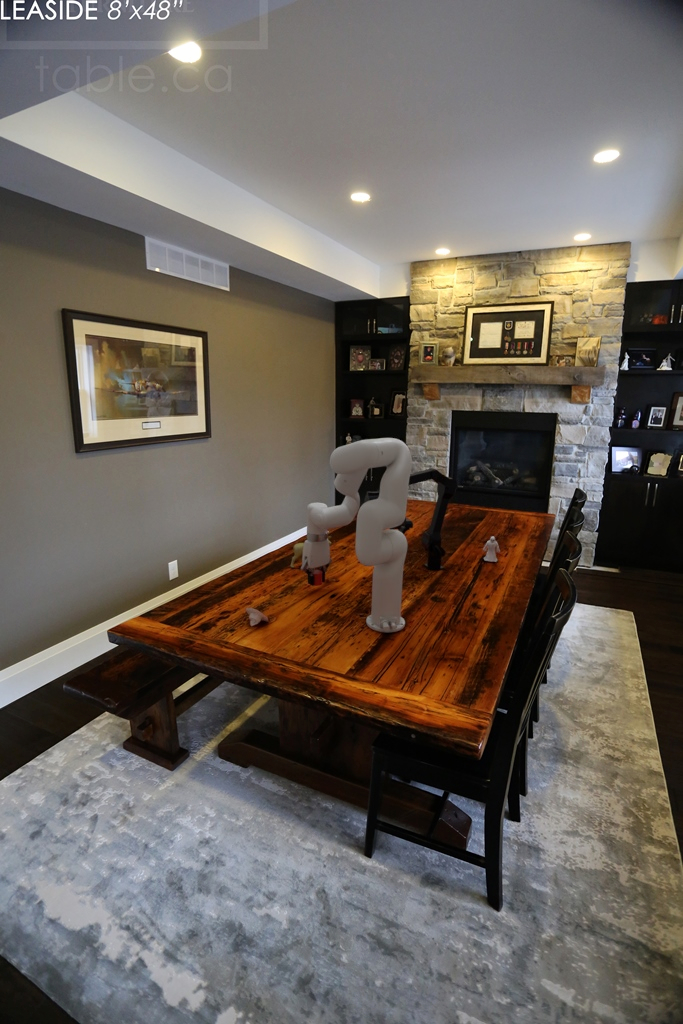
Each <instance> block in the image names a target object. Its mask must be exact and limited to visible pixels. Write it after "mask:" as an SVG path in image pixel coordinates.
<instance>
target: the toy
mask: <svg viewBox="0 0 683 1024" xmlns="http://www.w3.org/2000/svg"><path fill="white" fill-rule="evenodd" d="M331 538H332V535H327V539H328V541H329V547H331V545H332V542H331V541H330V539H331ZM304 543H305V542H299V543H298V542H297V543H296V544H294V545H293V547H292V548H293V553H294V556H292V557H291V563H290V569H295V565H294V564H295V562H296V561H297V560H300V561H301V562H302V557H303V548H304Z"/></svg>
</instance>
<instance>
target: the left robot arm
mask: <svg viewBox="0 0 683 1024" xmlns="http://www.w3.org/2000/svg"><path fill="white" fill-rule="evenodd" d="M329 467H330V470H332V472H334V473H335V474H336V477H335V478H334V480H333V486H334V488H335V489H336V491H338V492H339V493H340V494H342V495H343V496H345V497H344V498H343V500H342V503H341V504H339V505H334V506H328V505H327V504H326V503H323V502H311V503H309V504H307V507H306V540H304V542H303V543H304V548H303V557H302V561H301V562H302V564H301V566H300V570H301V571H303V572H304V573H305V574H306V575H307V584H308V585H310V586H312V587H315V586H314V580H315V576H314V575H313V573H314V570H315V569H316V568H319V570H321V571H322V584H323V583H326V573H327V570H328V568H329V567H330V565H331V564H332V563H333V559H332V558H331V550H330V547H331V546H329V541H330V540H329V539H327V537H328V536H329V534H330V532H329V530H333V529H336V528H340V527H344V526H348V525H349V524H351V523H352V522H353V521H354V520H355V517H356V526H355V527H356V528H355V542H354V543H355V545H354V546H355V547H354V549H355V555H356V558H357V561H358V562H359V564H361V565H362V566H364V567H368V568H369V567H373V570H372V585H371V586H372V587H371V607H370V609H371V613H370V615H368V616H367V617H366V621H365V622H366V623H365V624H366V625H367V627H368V628H369V629H372V630H373V631H376V632H379V633H396V632H398V631H402V630H403V629H404V628H405V626H406V620H405V618H403V617H402V615H401V614H402V599H403V598H402V597H403V580H404V567H405V562H406V557H407V554H408V540H407V537H406V535H405V534H403V533H402V532H400V531H398V529H395V530H394V529H389V528H393V527H396V526H399V525H401V524H402V523H403V522H404V520H405V517H406V515H407V508H408V507H407V506H408V496H409V485H408V484H409V478H410V474H411V473H412V468H413V458H412V453H411V450H410V448H409V447H408V445H407V444H406V443H405V442H404V441H403V440H402V439H401V440H400V439H399V438H395V437H394V438H393V437H380V438H370V439H368V438H367V439H360V440H357V441H354V442H351V443H348V444H345V445H341V446H338V447H337V448H335V449H333V451H332V452H331V454H330V457H329ZM382 467H386V470H385V472H384V473H383V475H382V476H381V480H380V483H379V487H380V493H379V497H378V499H375V500H370V501H367V502H364V503H362V504H361V498H360V493H359V489H360V487H361V485H362V483H363V481H364V479H365V477H366V475H367V473H368V471H369V469H373V468H382ZM360 505H361V506H360ZM356 515H357V516H356ZM328 540H329V541H328Z"/></svg>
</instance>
